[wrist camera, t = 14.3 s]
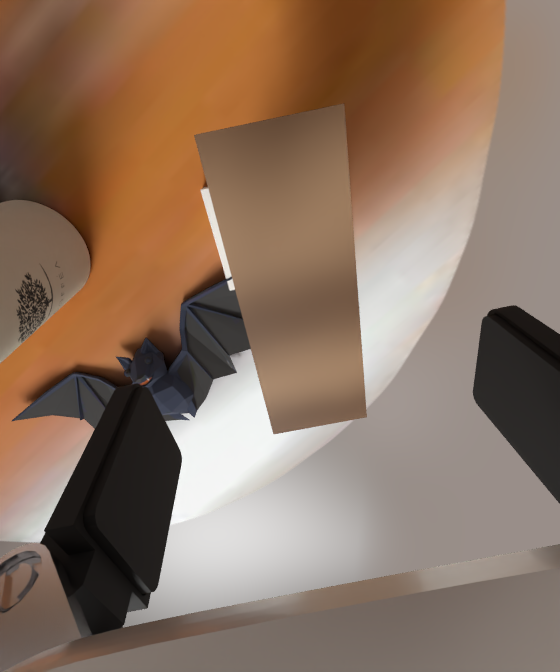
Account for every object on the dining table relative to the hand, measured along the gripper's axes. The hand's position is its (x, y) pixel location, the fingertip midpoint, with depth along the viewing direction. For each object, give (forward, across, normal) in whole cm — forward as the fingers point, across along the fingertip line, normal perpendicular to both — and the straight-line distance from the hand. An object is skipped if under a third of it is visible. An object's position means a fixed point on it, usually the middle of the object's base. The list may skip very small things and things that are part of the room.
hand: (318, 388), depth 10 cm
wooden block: (+12, 0, 0) cm, 12 cm away
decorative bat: (+21, +13, +12) cm, 28 cm away
